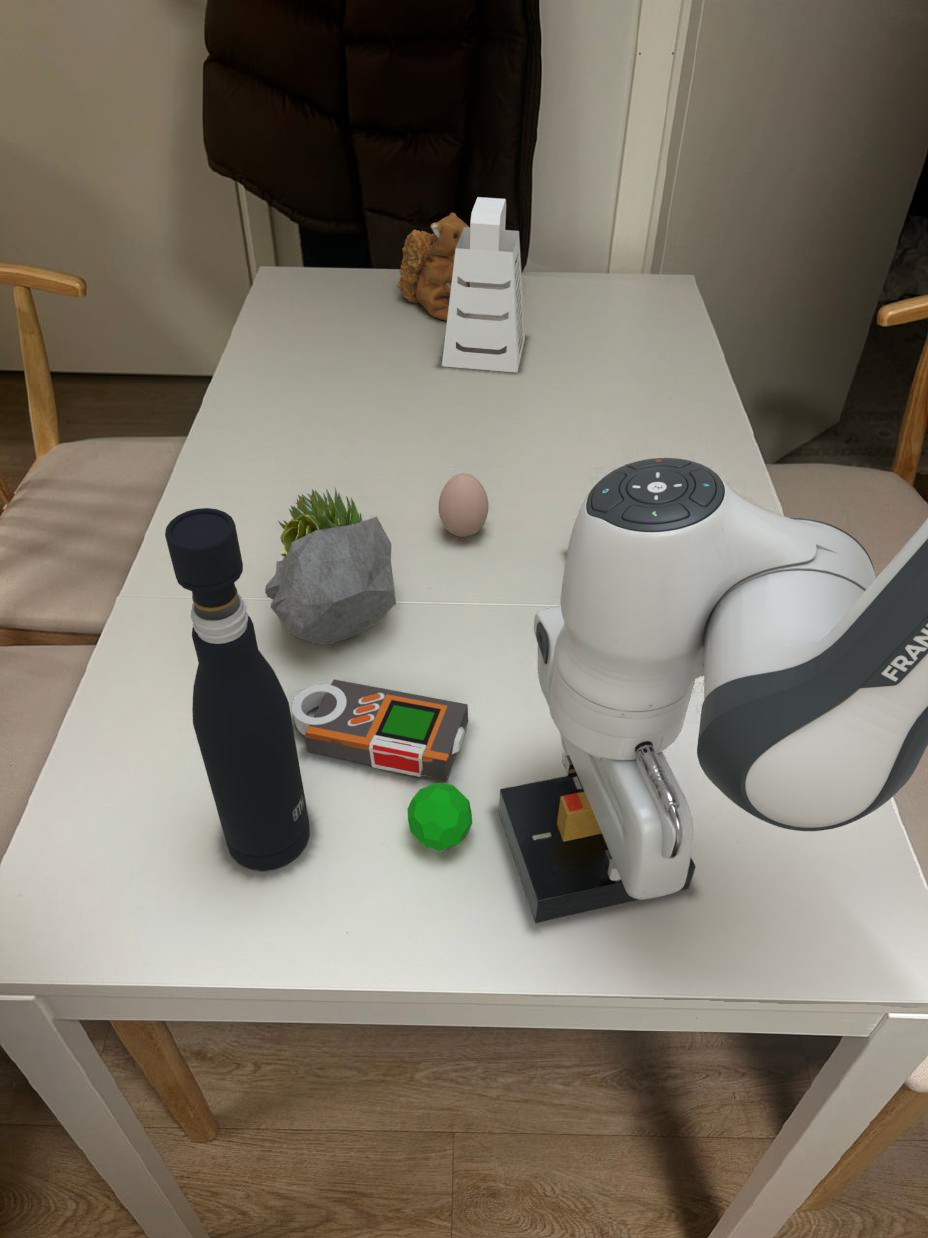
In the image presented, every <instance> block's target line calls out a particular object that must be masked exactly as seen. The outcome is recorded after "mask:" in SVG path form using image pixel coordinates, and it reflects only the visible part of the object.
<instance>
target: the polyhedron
mask: <svg viewBox="0 0 928 1238" xmlns="http://www.w3.org/2000/svg"><path fill="white" fill-rule="evenodd" d="M470 803H471V802H470V800H469V799H468V798H467V797H466V796H465V795H464V794H463V792H461V791H460V790H459V789H458V788H457V787H456V786H455V785H454V784H449V783H445V782H436V783H431V784H428V785H427V786H424V787H422V788H420V789H419V790H418V791H417V792H416V793H415V795H414V796H412V799H411V801H410V803H409V804H408V807H407V824H408V827H409V833H410V834H411V835H412V836H413V837H414V838H415V839H416V840H417V841H418V842H419V843H420V844H421V845H422V846H424V847H425V848H426V849H431V850H433V851H443V850H447V849H450V848H452V847H455V846H457V845H460V844H461V843H462V841H463V840H464V839H465V837H466V836H467V834H468V833H469V831H470V829H471V827H472V826H473V815H472V814H473V813H472V808H471V804H470Z"/></svg>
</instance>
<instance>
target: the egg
mask: <svg viewBox="0 0 928 1238" xmlns="http://www.w3.org/2000/svg"><path fill="white" fill-rule="evenodd" d="M437 507H438V508H437V509H438V516H439V520H440V521H441V523H442V525H443V527H444V528H445V529H446V530H447V531H448V533H451V534H452V535H454V536H457V537H461V538H467V537H470V536H473V535H474V534H476V533H477V532H479V531H480V530H481V529H482V528H483V527H484V525H485V524H486V521H487V518H488V514H489V498H488V494H487V492H486V490H485V488H484V486H483V484H482V483H481V482H480V480H479V479H478V478H477V477H475V476H474V475H472V474H470V473H465V472H462V473H457V474H455V475H453V476H452V477H451V478H449V479H448V481H447V482H446V483H445V484H444V486H443V488H442V490H441V492H440V495H439V499H438V506H437Z"/></svg>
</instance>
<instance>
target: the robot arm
mask: <svg viewBox="0 0 928 1238" xmlns="http://www.w3.org/2000/svg"><path fill="white" fill-rule="evenodd" d="M533 633H534V635H535V639H536V642H537V675H538V682H539V686H540V689H541V692H542V694H543V696H544V698H545V701H546V703H547V706H548V708H549V713H550V717H551V719H552V721H553V723H554V725H555V727H556V729H558V731H559V734H560V740H561V746H562V758H561V763H562V765H563V767H564V771H565V772H566V776H569V777H570V778H574V777H576V776H577V775H578V778H579V780H580V782H581V785H582V787H583V789H584V792H585V794H586V797H587V799H588V801H589V804H590V806H591V809H592V811H593V813H594V816H595V818H596V821H597V823H598V825H599V828H600V830H601V832H602V835H603V837H604V840H605V842H606V844H607V847H608V849H609V850H605V854H604V858H605V859H603V862H604V865H605V867H606V870H607V873H608V875H609V878H610V879H611V880H613V881H615V880H620V879H621V880H622V883H623V885H624V888H625V890H626V892H627V893H628V895H629V896H631V897H633V898H636V899H640V900H649V899H650V900H651V899H655V898H656V899H657V898H661V897H665V896H668V895H671V894H675V893H677V892H680V891H682V890H681V889H682V888H683V886H684V884H685V882H686V878H687V874H688V869H689V864H690V858H692V851H693V842H694V821H693V819H694V818H693V814H692V810H691V807H690V805H689V803H688V800H687V797H686V795H685V793H684V791H683V789H682V787H681V786H680V784H679V782H678V780H677V778H676V775H675V774H674V772H673V770H672V768H671V766H670V764H669V762H668V760H667V757H666V756H665V754H664V752H663V751H664V750H666V749H668V748H669V747H670V746H671V745H672V744H673V743H674V742H675V741H676V740H677V738H678V737H679V736H680V734H681V732H682V731H683V730H682V729H683V727H684V723H685V719H686V717H687V712H688V709H689V704H690V701H691V698H692V694H693V690H694V686H695V682H696V680H697V679H698V678H700V677H703V686H704V687H703V701H702V704H701V709H700V719H699V729H698V736H697V737H698V738H697V746H696V756H697V757H696V758H697V760H698V764H699V766H700V768H701V770H702V771H703V773H704V775H705V776H706V777H707V779H708V780H710V782H711V783H712V784H713V785H714V787H716V788H717V789H718V790H719V791H720V792H721V793H722V794H723V795H724V796H725V797H727V799H729V800H730V801H731V802H732V803H734V804H735V805H736V806H737V807H739V808H741V810H743V811H745V812H746V813H748V814H750V815H751V816H753V817H754V818H757V819H758V820H760V821H763V822H765V823H767V824H770V825H772V826H775V827H778V828H781V829H785V830H790V831H796V832H822V831H828V830H834V829H837V828H842V827H844V826H847V825H850V824H852V823H854V822H857V821H858V820H860V819H863V818H865V817H867V816H868V815H870V814H871V813H873V812H875V811H876V810H878V809H879V808H880V807H882V806H883V805H885V804H886V803H888V802H889V801H890V800H891V799H892V798H893V797H894V796H895V795H897V794H898V792H900V790H901V789H902V788H903V787H904V786H905V785H906V784H907V783H908V781H909V780H910V779H911V778H912V776H913V774H914V773H915V771H916V770H917V767H918V765H919V763H920V762H921V759H922V758H923V755H924V753H925V751H926V749H927V748H928V517H927V518H926V519H925V520H924V521H923V522H922V524H921V526H920V527H919V528H918V529H917V530H916V531H915V532H914V534H912V536H910V538H909V539H908V540H907V542H906V543H905V544H904V545H903V546H902V548H901V549H899V551H898V552H897V553H896V554H895V555H894V557H893V558H892V559H891V560H890V561H889V563H888V564H886V566H885V567H884V569H882V571H881V572H880V573H879V574H878V575H877V576H876V573H875V568H874V563H873V561H872V559H871V556H870V555H869V553H868V551H867V550H866V549H865V547H864V546H863V545H862V544H861V543H860V542H859V541H858V540H857V538H855V537H853V536H852V535H851V534H850V533H848V532H846V531H845V530H843V529H841V528H840V527H837V526H835V525H832V524H830V523H827V522H824V521H820V520H816V519H810V518H800V517H788V516H785V515H782V514H780V513H777V512H775V511H771V510H769V509H767V508H764V507H762V506H760V505H758V504H756V503H755V502H753V501H751V500H749V499H747V498H745V497H744V496H743V495H741V494H740V493H738V492H737V491H736V490H735V489H734V488H733V487H732V486H731V485H730V484H729V483H728V482H727V481H726V479H725V478H724V477H723V476H722V475H720V474H719V473H718V472H717V471H716V470H714V469H712V468H711V467H709V466H707V465H704V464H702V463H699V462H696V461H692V460H688V459H683V458H677V457H656V458H655V457H653V458H646V459H640V460H637V461H633V462H630V463H627V464H624V465H622V466H619V467H617V468H615V469H614V470H612V471H610V472H609V473H608V474H606V475H605V476H603V477H602V478H601V479H600V480H599V481H598V482H597V483H595V484H594V485H593V487H592V488H591V489H590V490H589V492H588V494H587V495H586V497H585V498H584V500H583V502H582V504H581V505H580V507H579V510H578V512H577V515H576V518H575V521H574V523H573V527H572V530H571V535H570V537H569V543H568V547H567V552H566V556H565V561H564V568H563V575H562V582H561V590H560V605H557V606H554V607H549V608H545V609H541V610H537V611H536V612H535V614H534V619H533ZM679 890H680V891H679Z"/></svg>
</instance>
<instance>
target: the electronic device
mask: <svg viewBox="0 0 928 1238" xmlns="http://www.w3.org/2000/svg"><path fill="white" fill-rule="evenodd" d="M291 703H292V704H291V712H292V716H293V720H294V723H295V727H296V729H297V731H298V732H299V733H300V734H302V735H303V736H304V741H305V744H306V750H307V752H308V753H313V754H316V755H321V756H322V755H323V756H326V757H332V758H335V759H336V758H337V759H341V760H346V761H352V762H356V763H361V764H365V765H371V767H372V768H374V769H377V770H378V769H379V770H383V771H389V772H392V773H398V774H404V775H408V776H413V777H418V778H421V777H423V776H425V777H427V778H428V777H429V778H433V779H437V780H444V781H447V780H448V778H449V774H450V772H451V770H452V767H453V764H454V761H455V759H456V757H457V754H458V752H460V751H461V748H462V745H463V742H464V739H465V735H466V734H465V733H466V730H467V726H468V724H469V705H468V703H464V702H458V701H452V700H447V699H441V698H437V697H431V696H427V695H426V696H425V695H419V694H415V693H411V692H410V693H409V692H404V691H398V690H393V689H388V688H383V687H378V686H373V685H372V686H371V685H366V684H360V683H357V682H351V681H345V680H340V679H333V680H332V682H331V683H330V684H328V683H327V684H326V683H324V684H323V683H322V684H320V683H319V684H314V685H311V686H308V687H306V688H304V689H302V690H301V691H299V693H298V694H296V696H295V697H294V698H293V701H292V702H291ZM315 708H317V709H316V711H315V713H314V715H313V716H309V715H307V714H308V713H309V712H310V711H312V710H313V709H315Z"/></svg>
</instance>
